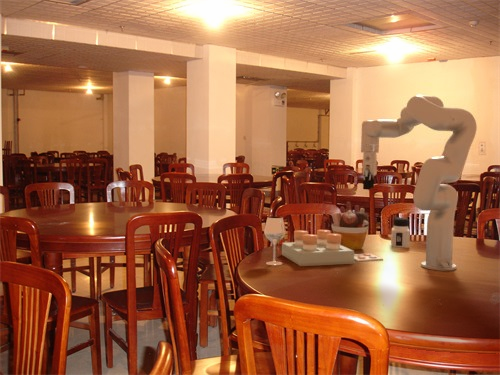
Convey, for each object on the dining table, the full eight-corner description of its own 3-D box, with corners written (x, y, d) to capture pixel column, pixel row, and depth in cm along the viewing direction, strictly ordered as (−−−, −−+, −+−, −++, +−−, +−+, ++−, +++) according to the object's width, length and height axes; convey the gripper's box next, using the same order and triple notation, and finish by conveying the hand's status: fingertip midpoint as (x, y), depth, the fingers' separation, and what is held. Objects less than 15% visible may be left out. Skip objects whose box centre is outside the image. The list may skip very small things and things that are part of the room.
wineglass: (259, 264, 209) (260, 217, 208) (269, 260, 216) (270, 215, 215) (279, 267, 205) (280, 219, 204) (288, 263, 212) (289, 216, 211)
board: (353, 263, 213) (354, 250, 213) (300, 266, 207) (300, 253, 207) (330, 252, 234) (331, 241, 234) (281, 254, 228) (282, 242, 228)
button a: (342, 253, 215) (343, 235, 214) (329, 253, 214) (330, 236, 213) (336, 250, 220) (337, 233, 220) (324, 251, 219) (324, 233, 218)
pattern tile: (383, 260, 220) (383, 258, 220) (358, 261, 217) (358, 259, 217) (370, 254, 231) (370, 252, 231) (346, 255, 228) (346, 253, 228)
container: (409, 248, 248) (410, 219, 247) (391, 247, 249) (392, 218, 248) (408, 245, 255) (409, 217, 254) (391, 244, 257) (392, 216, 256)
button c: (319, 254, 212) (319, 236, 212) (305, 254, 211) (306, 236, 210) (313, 251, 218) (314, 234, 217) (300, 252, 216) (300, 234, 216)
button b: (332, 248, 225) (332, 231, 224) (319, 249, 223) (320, 232, 223) (327, 246, 230) (327, 229, 229) (314, 246, 228) (314, 229, 228)
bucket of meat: (369, 252, 235) (371, 206, 233) (330, 251, 237) (332, 205, 235) (365, 244, 255) (367, 201, 253) (330, 243, 257) (331, 200, 255)
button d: (309, 249, 222) (310, 232, 221) (296, 250, 220) (296, 232, 220) (304, 247, 227) (305, 230, 227) (291, 247, 226) (292, 230, 225)
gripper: (376, 149, 229) (374, 190, 230) (381, 149, 245) (379, 187, 246) (358, 149, 231) (356, 189, 232) (364, 149, 247) (362, 186, 249)
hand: (368, 188), depth 239 cm, fingers open, 9 cm apart
